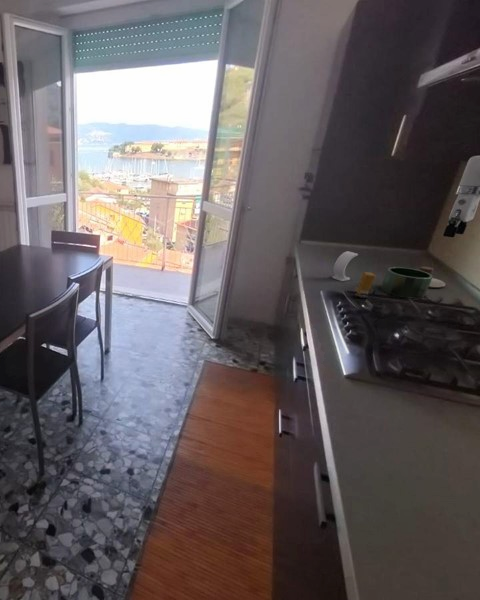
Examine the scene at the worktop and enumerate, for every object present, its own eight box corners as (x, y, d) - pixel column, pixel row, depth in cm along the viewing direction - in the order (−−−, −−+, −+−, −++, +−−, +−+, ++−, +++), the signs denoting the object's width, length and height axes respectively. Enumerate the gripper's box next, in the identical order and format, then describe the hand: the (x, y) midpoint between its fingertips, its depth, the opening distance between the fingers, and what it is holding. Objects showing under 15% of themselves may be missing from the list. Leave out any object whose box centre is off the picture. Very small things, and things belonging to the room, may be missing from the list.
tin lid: (450, 284, 153) (456, 269, 150) (436, 291, 146) (443, 276, 143) (408, 274, 164) (413, 260, 161) (393, 280, 157) (399, 266, 155)
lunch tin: (429, 294, 143) (438, 274, 140) (415, 301, 137) (424, 280, 134) (389, 283, 154) (396, 265, 151) (374, 290, 148) (381, 270, 144)
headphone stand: (349, 279, 159) (358, 253, 154) (340, 281, 157) (348, 255, 152) (339, 276, 163) (347, 251, 158) (330, 278, 161) (337, 252, 156)
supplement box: (367, 299, 139) (376, 275, 135) (357, 298, 140) (365, 274, 136) (365, 296, 142) (373, 272, 138) (354, 295, 143) (362, 271, 139)
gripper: (476, 193, 128) (457, 239, 135) (492, 190, 136) (473, 234, 143) (449, 191, 134) (432, 236, 141) (465, 188, 142) (448, 231, 149)
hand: (453, 235), depth 142 cm, fingers open, 9 cm apart
